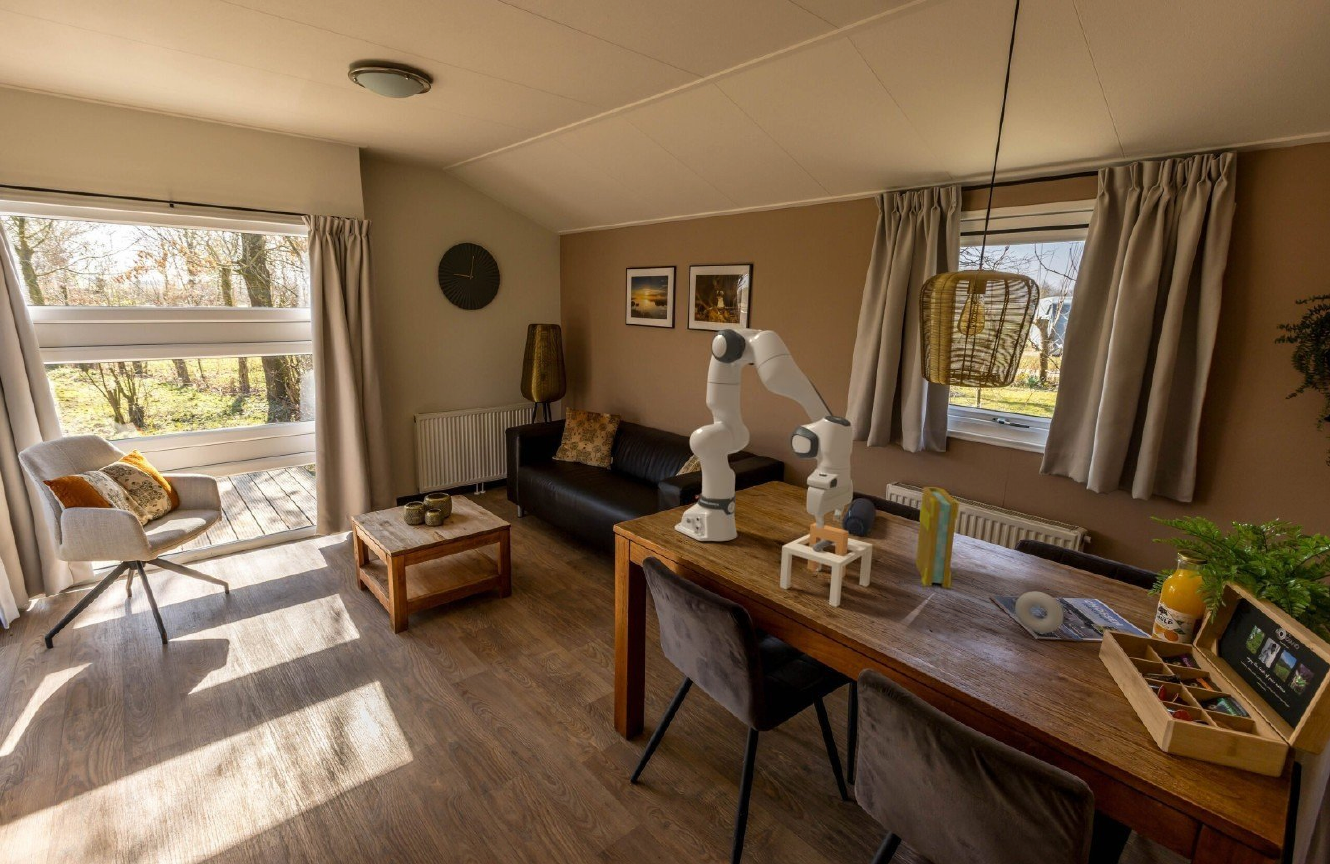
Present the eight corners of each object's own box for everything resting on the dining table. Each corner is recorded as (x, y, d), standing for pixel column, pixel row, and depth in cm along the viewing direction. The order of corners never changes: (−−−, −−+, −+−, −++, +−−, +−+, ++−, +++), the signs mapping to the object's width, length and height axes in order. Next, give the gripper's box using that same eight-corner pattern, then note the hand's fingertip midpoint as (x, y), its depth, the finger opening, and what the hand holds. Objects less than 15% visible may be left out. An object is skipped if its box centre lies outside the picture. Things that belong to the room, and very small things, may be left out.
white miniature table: (779, 587, 166) (782, 539, 163) (815, 567, 180) (818, 523, 178) (836, 606, 154) (840, 555, 152) (869, 584, 169) (873, 537, 167)
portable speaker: (848, 519, 230) (850, 494, 229) (875, 522, 226) (878, 497, 225) (839, 538, 208) (841, 510, 206) (869, 543, 204) (871, 515, 202)
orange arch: (807, 568, 169) (810, 524, 167) (812, 565, 171) (815, 522, 169) (839, 579, 162) (843, 533, 160) (844, 576, 164) (848, 531, 162)
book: (949, 588, 168) (959, 502, 164) (924, 585, 169) (933, 500, 165) (935, 565, 184) (943, 487, 180) (912, 563, 186) (920, 486, 182)
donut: (1061, 635, 142) (1067, 596, 140) (1059, 641, 139) (1064, 601, 138) (1014, 621, 149) (1019, 584, 147) (1011, 626, 146) (1016, 588, 144)
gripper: (839, 468, 172) (835, 514, 174) (803, 479, 157) (800, 529, 159) (860, 472, 168) (856, 519, 170) (825, 484, 153) (821, 535, 155)
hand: (828, 524), depth 164 cm, fingers open, 8 cm apart
